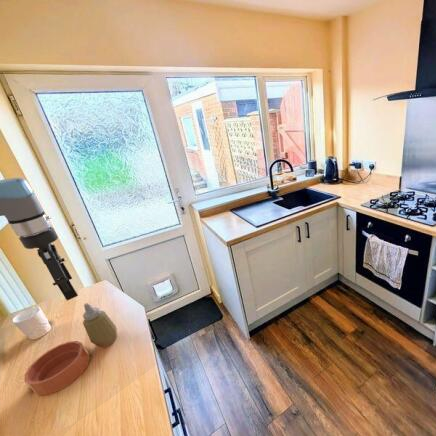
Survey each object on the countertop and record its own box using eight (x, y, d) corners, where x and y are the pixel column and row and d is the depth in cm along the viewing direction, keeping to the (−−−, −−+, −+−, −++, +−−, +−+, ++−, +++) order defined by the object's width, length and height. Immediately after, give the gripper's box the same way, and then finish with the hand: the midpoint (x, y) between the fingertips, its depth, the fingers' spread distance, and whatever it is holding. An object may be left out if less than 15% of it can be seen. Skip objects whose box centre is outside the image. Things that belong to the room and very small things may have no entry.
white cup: (34, 343, 94) (19, 324, 90) (22, 338, 96) (7, 320, 92) (57, 326, 100) (44, 308, 96) (45, 322, 103) (32, 305, 99)
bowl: (34, 375, 81) (24, 363, 79) (86, 345, 90) (79, 333, 88) (35, 407, 72) (24, 394, 69) (94, 370, 81) (86, 358, 78)
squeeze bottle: (89, 349, 89) (65, 312, 81) (109, 330, 96) (88, 294, 88) (106, 352, 87) (83, 314, 79) (125, 333, 94) (105, 296, 86)
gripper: (56, 238, 66) (90, 299, 75) (49, 217, 82) (78, 268, 91) (17, 250, 61) (58, 313, 70) (18, 225, 77) (51, 279, 86)
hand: (69, 288), depth 80 cm, fingers open, 13 cm apart
